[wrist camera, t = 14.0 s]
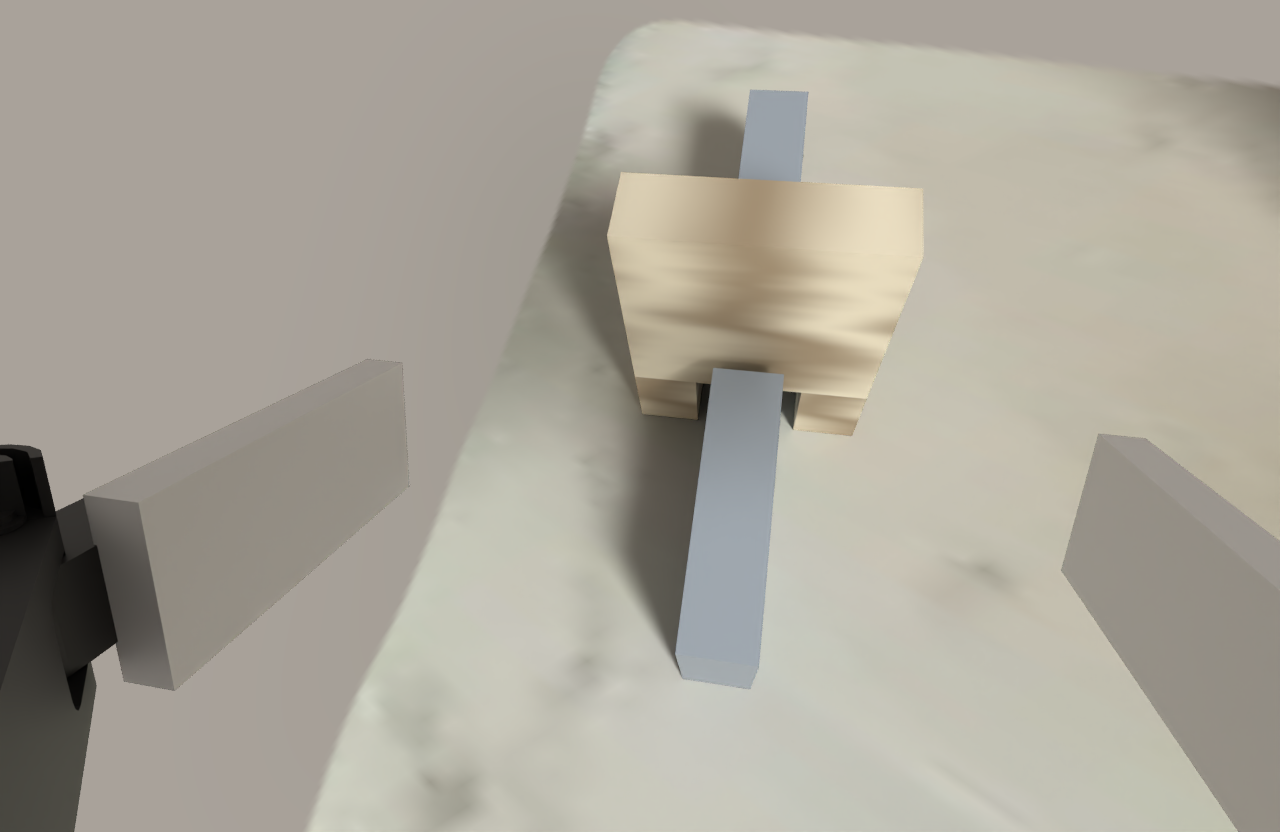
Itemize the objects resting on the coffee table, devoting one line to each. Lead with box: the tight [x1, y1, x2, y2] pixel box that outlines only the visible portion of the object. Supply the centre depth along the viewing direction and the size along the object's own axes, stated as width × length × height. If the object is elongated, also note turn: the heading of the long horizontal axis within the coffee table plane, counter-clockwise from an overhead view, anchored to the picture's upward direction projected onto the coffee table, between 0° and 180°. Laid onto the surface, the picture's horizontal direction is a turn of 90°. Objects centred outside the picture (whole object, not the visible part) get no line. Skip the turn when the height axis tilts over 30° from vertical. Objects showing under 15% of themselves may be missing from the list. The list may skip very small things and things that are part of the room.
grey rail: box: [675, 90, 808, 689], centre depth 30 cm, size 2×24×6 cm, turn 171°
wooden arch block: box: [607, 172, 923, 436], centre depth 27 cm, size 9×2×12 cm, turn 81°
